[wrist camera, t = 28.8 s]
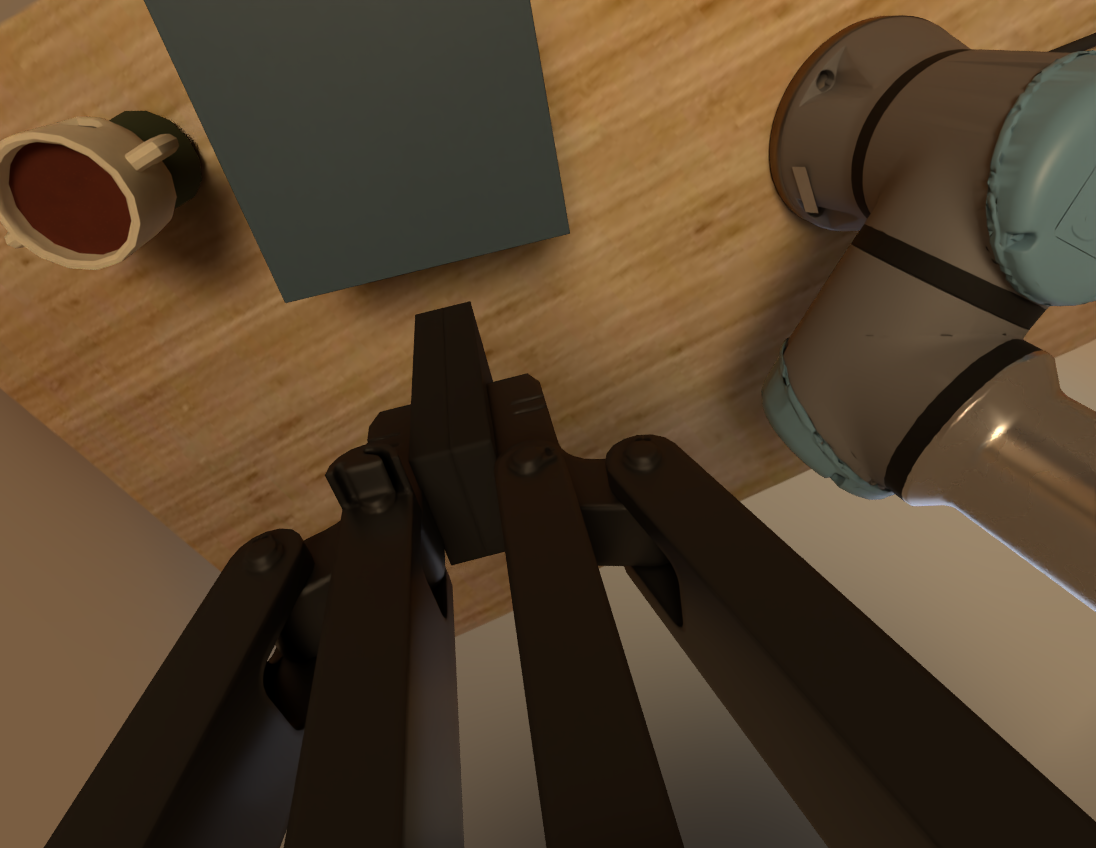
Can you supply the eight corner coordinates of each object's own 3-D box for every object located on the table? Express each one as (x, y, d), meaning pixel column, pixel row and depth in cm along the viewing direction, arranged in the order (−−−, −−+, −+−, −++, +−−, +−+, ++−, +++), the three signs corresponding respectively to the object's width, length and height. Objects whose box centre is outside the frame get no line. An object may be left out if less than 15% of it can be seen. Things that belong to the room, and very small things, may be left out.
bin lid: (147, -5, 27) (140, -6, 27) (512, -89, 28) (514, -92, 27) (287, 298, 36) (285, 303, 35) (567, 229, 36) (570, 233, 35)
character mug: (178, 65, 40) (86, 80, 29) (255, 167, 44) (199, 213, 33) (49, 151, 42) (-83, 195, 31) (135, 242, 46) (44, 310, 35)
